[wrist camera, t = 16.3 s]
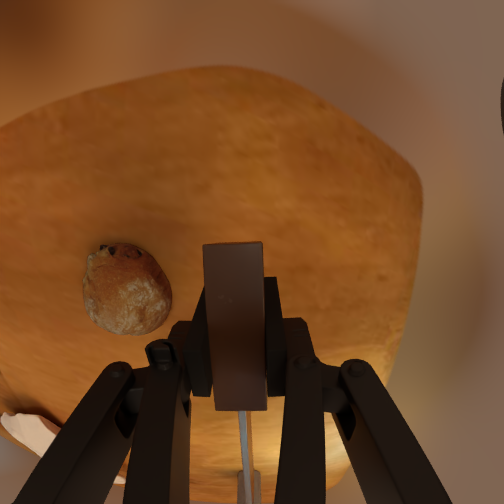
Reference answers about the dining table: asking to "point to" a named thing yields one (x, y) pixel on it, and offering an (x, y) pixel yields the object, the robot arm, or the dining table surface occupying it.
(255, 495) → the grey cylinder
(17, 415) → the white rock slab
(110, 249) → the bread roll
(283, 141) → the dining table surface
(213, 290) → the knife
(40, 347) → the dining table surface
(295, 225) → the dining table surface
